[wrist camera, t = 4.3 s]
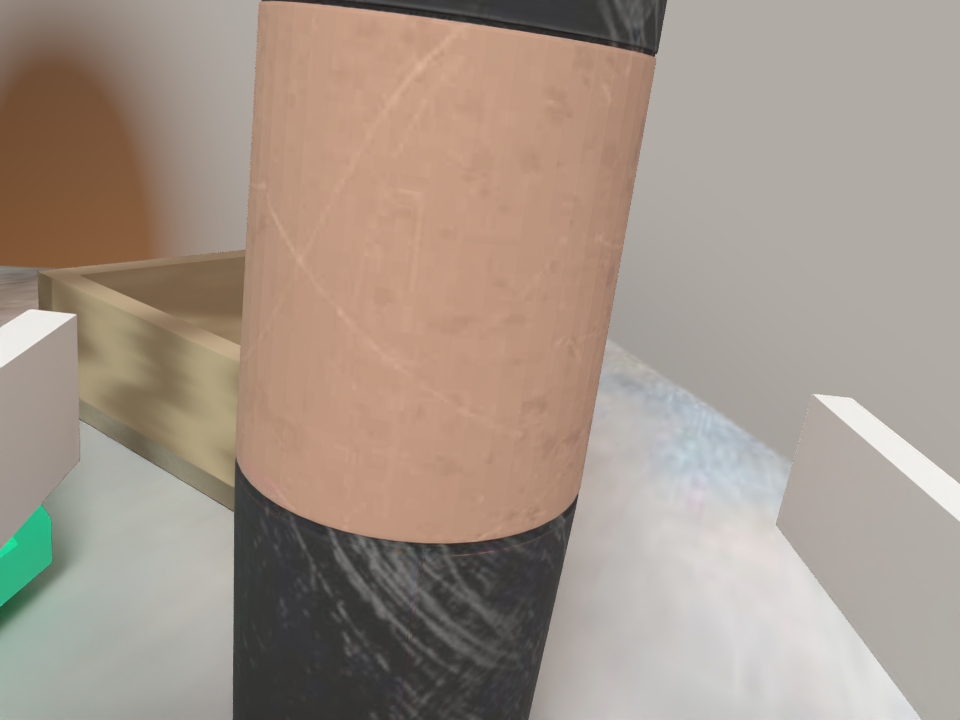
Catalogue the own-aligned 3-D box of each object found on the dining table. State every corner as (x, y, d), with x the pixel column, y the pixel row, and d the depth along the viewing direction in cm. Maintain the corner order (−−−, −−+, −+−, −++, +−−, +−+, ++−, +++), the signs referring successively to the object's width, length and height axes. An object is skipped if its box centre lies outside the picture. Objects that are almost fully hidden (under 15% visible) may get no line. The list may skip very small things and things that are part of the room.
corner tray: (42, 396, 39) (37, 271, 38) (325, 334, 54) (332, 241, 52) (308, 555, 30) (319, 399, 28) (567, 429, 44) (586, 319, 42)
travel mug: (548, 701, 25) (694, -53, 18) (481, 943, 17) (682, -153, 11) (306, 631, 26) (362, -87, 20) (155, 827, 19) (166, -195, 13)
